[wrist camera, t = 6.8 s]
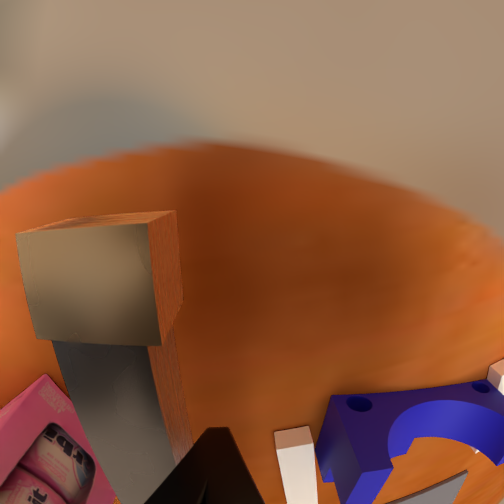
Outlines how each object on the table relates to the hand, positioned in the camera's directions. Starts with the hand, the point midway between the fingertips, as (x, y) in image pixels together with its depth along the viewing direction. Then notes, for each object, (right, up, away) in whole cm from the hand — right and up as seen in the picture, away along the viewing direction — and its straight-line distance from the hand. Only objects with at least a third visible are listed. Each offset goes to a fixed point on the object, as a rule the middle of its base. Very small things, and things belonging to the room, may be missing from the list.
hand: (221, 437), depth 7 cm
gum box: (-18, -12, +10) cm, 24 cm away
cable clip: (+11, -6, +10) cm, 16 cm away
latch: (-2, -2, +7) cm, 8 cm away
